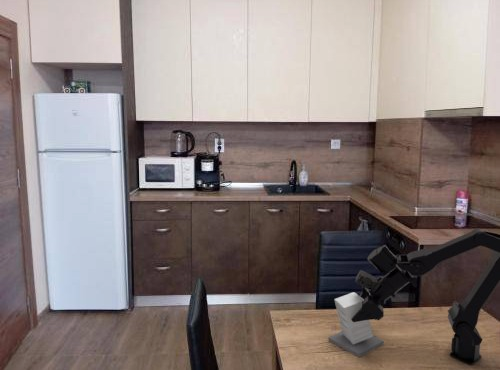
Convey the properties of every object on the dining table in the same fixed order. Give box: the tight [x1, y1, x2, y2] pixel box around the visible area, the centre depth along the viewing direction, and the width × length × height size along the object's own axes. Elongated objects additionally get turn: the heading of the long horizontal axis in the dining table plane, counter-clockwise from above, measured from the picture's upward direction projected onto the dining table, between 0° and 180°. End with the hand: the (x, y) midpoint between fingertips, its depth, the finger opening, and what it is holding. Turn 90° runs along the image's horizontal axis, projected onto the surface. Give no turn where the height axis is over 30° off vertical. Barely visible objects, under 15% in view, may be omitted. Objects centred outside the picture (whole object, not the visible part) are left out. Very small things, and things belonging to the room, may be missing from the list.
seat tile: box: [328, 330, 385, 358], centre depth 129 cm, size 12×12×1 cm
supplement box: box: [334, 291, 374, 344], centre depth 128 cm, size 7×7×13 cm
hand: (352, 313), depth 128 cm, fingers closed on supplement box, 9 cm apart
